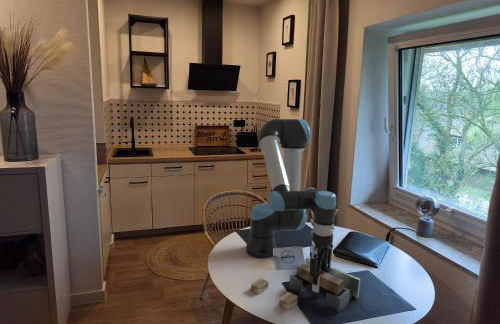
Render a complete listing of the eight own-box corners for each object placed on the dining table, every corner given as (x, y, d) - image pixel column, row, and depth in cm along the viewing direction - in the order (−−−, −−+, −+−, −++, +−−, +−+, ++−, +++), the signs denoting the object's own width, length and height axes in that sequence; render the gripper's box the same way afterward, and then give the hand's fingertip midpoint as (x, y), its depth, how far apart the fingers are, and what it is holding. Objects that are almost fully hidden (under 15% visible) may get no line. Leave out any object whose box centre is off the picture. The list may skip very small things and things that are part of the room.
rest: (250, 290, 139) (251, 283, 138) (260, 284, 143) (260, 277, 142) (287, 310, 127) (288, 303, 126) (297, 303, 131) (297, 296, 131)
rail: (297, 275, 140) (297, 266, 139) (302, 272, 143) (303, 263, 142) (337, 294, 128) (338, 284, 127) (343, 289, 131) (343, 280, 130)
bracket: (287, 287, 142) (288, 269, 140) (306, 274, 152) (307, 257, 150) (341, 313, 126) (343, 293, 124) (358, 297, 136) (360, 278, 135)
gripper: (319, 242, 122) (315, 302, 127) (343, 229, 135) (338, 284, 140) (301, 236, 127) (298, 294, 132) (325, 223, 140) (321, 277, 145)
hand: (318, 288), depth 136 cm, fingers closed on rail, 4 cm apart
